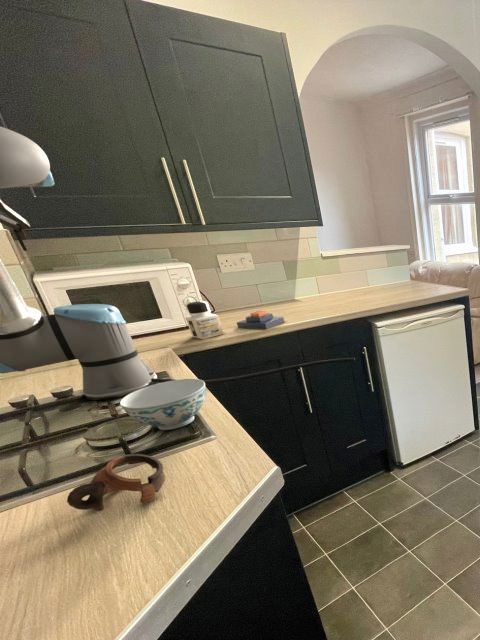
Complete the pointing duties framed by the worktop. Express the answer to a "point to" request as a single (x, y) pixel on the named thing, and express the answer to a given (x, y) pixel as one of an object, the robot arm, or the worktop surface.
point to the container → (202, 321)
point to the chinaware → (166, 403)
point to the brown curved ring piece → (117, 483)
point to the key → (258, 313)
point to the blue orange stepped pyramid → (260, 322)
